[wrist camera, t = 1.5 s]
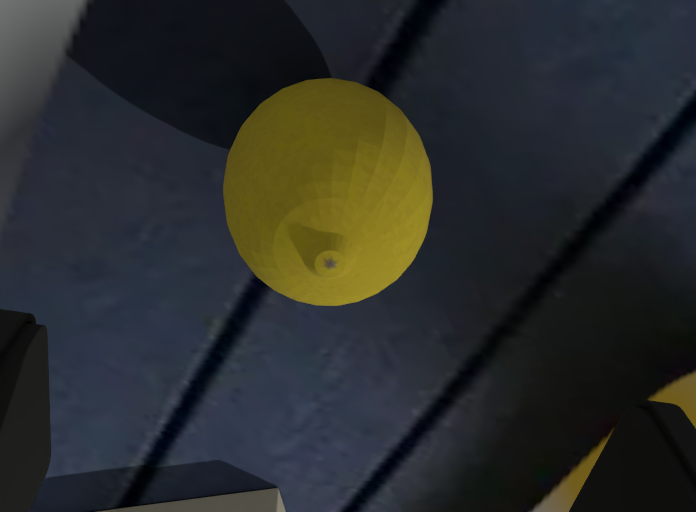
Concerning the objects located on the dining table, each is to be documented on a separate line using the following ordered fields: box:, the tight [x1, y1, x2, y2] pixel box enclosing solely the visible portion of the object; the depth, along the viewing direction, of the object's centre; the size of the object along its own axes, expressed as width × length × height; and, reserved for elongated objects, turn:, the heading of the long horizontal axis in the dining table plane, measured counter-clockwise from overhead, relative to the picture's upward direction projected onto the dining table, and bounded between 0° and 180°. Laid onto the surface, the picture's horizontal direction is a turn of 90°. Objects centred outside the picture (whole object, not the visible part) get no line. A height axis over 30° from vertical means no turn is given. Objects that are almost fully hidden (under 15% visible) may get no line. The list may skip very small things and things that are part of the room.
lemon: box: [223, 78, 433, 306], centre depth 17 cm, size 6×6×8 cm
